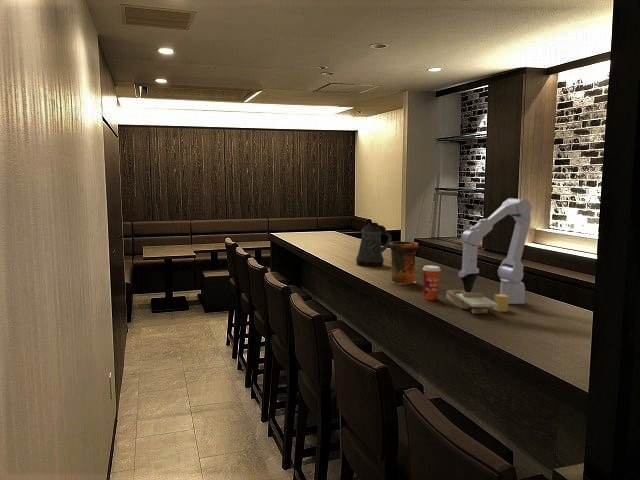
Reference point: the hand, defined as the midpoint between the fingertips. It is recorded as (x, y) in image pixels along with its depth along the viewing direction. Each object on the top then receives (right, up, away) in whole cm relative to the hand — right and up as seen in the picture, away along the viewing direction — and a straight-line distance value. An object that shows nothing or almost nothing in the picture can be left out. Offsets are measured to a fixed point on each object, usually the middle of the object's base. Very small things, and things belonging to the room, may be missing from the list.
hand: (467, 292), depth 218 cm
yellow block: (+11, -7, -7) cm, 15 cm away
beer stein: (-30, +7, +97) cm, 102 cm away
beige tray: (0, -5, 0) cm, 5 cm away
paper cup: (-13, -4, +11) cm, 18 cm away
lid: (+1, -3, -8) cm, 9 cm away
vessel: (-20, 0, +46) cm, 50 cm away
